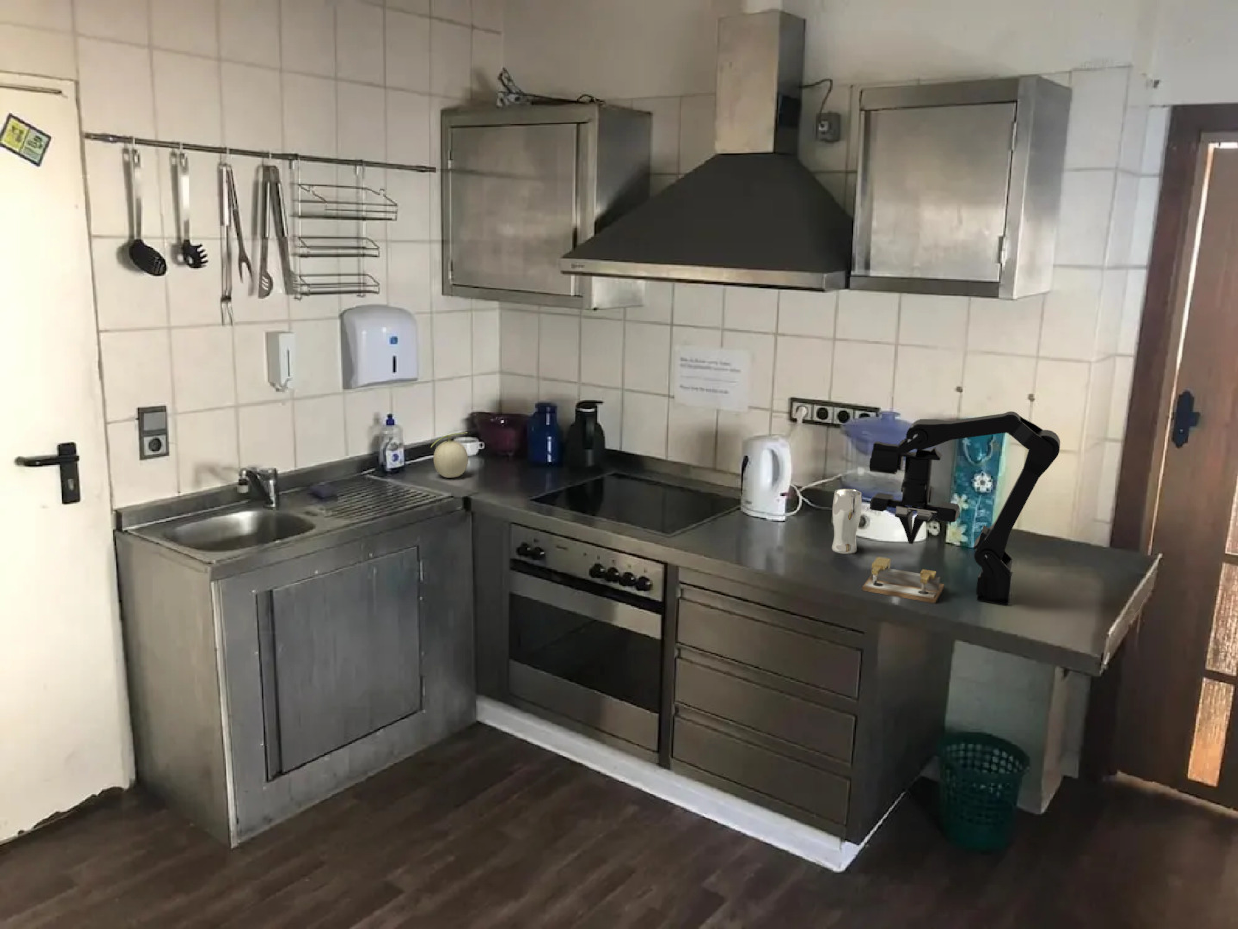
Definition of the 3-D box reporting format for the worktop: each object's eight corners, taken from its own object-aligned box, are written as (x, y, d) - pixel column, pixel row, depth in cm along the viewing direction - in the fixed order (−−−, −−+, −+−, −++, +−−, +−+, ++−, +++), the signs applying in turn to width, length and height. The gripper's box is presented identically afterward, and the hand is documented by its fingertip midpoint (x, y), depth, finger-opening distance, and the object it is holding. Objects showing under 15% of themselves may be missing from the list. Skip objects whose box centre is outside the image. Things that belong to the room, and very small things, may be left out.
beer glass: (833, 543, 262) (836, 487, 258) (860, 547, 259) (864, 490, 256) (827, 552, 256) (831, 494, 252) (855, 556, 253) (859, 497, 249)
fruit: (427, 474, 323) (425, 428, 319) (463, 471, 327) (462, 425, 324) (435, 483, 314) (434, 435, 310) (472, 479, 318) (471, 432, 314)
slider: (889, 574, 238) (890, 559, 237) (880, 586, 230) (881, 570, 229) (876, 571, 239) (877, 556, 238) (867, 583, 232) (868, 568, 231)
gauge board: (943, 588, 233) (945, 568, 232) (935, 603, 224) (937, 582, 223) (873, 576, 240) (874, 556, 239) (862, 590, 231) (863, 570, 230)
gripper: (967, 474, 230) (960, 540, 234) (884, 463, 239) (878, 527, 243) (958, 486, 221) (951, 554, 225) (871, 474, 229) (866, 540, 233)
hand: (911, 543), depth 232 cm, fingers closed
